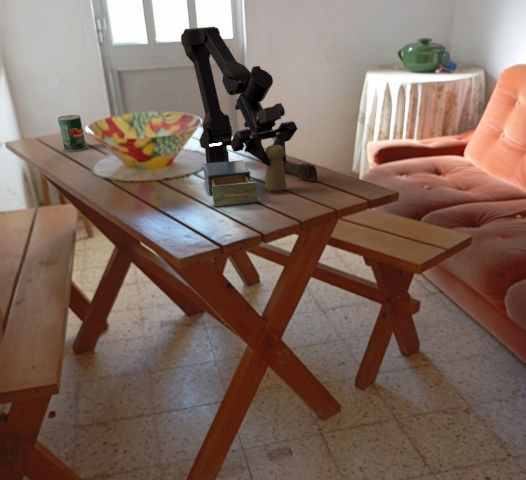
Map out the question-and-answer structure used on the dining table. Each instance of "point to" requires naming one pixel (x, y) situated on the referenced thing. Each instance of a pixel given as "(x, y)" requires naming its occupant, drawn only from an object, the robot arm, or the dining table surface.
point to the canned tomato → (72, 132)
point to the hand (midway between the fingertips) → (277, 163)
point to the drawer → (233, 190)
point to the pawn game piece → (275, 168)
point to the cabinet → (223, 171)
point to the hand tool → (301, 170)
